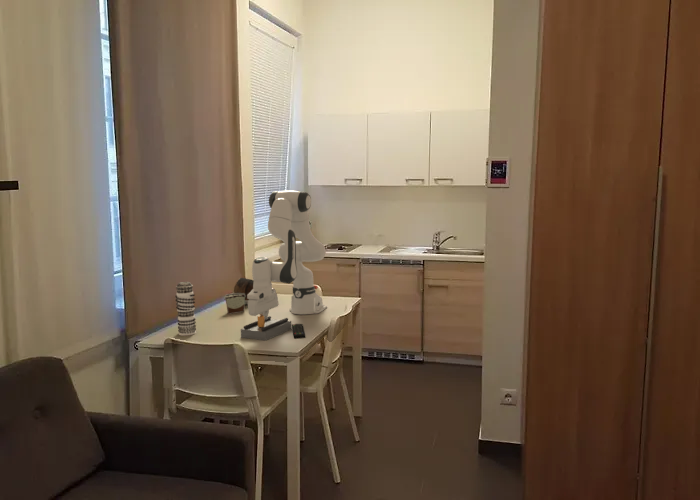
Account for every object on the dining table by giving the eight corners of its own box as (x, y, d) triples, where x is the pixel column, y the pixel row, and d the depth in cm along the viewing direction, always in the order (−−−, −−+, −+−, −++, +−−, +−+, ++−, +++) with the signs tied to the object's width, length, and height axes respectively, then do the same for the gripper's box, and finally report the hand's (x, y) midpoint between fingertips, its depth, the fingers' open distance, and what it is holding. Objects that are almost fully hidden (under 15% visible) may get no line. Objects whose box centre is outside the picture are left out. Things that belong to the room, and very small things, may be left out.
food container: (242, 309, 345) (241, 291, 344) (246, 311, 340) (245, 293, 339) (221, 312, 339) (220, 294, 338) (225, 314, 334) (224, 296, 332)
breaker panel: (267, 326, 304) (267, 318, 304) (291, 328, 298) (291, 320, 298) (241, 337, 285) (240, 329, 284) (265, 340, 279) (265, 331, 278)
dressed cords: (269, 318, 303) (269, 315, 303) (288, 320, 298) (288, 317, 298) (242, 329, 284) (242, 326, 284) (263, 331, 279) (263, 328, 279)
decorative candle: (191, 329, 302) (188, 280, 299) (200, 332, 295) (197, 282, 292) (174, 333, 296) (170, 282, 293) (183, 336, 289) (179, 285, 286)
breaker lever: (260, 325, 289) (259, 315, 288) (264, 326, 288) (264, 315, 287) (257, 326, 287) (257, 316, 286) (262, 327, 286) (261, 316, 285)
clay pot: (274, 286, 348) (235, 277, 354) (269, 312, 348) (230, 303, 354) (283, 285, 362) (245, 276, 368) (279, 310, 363) (241, 301, 369)
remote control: (293, 339, 281) (293, 336, 281) (292, 326, 304) (291, 324, 304) (305, 338, 282) (305, 336, 281) (302, 326, 305) (302, 323, 305)
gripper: (269, 286, 298) (271, 314, 300) (244, 296, 280) (246, 325, 282) (280, 287, 295) (282, 315, 297) (256, 297, 277) (257, 326, 279)
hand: (264, 320), depth 290 cm, fingers closed
